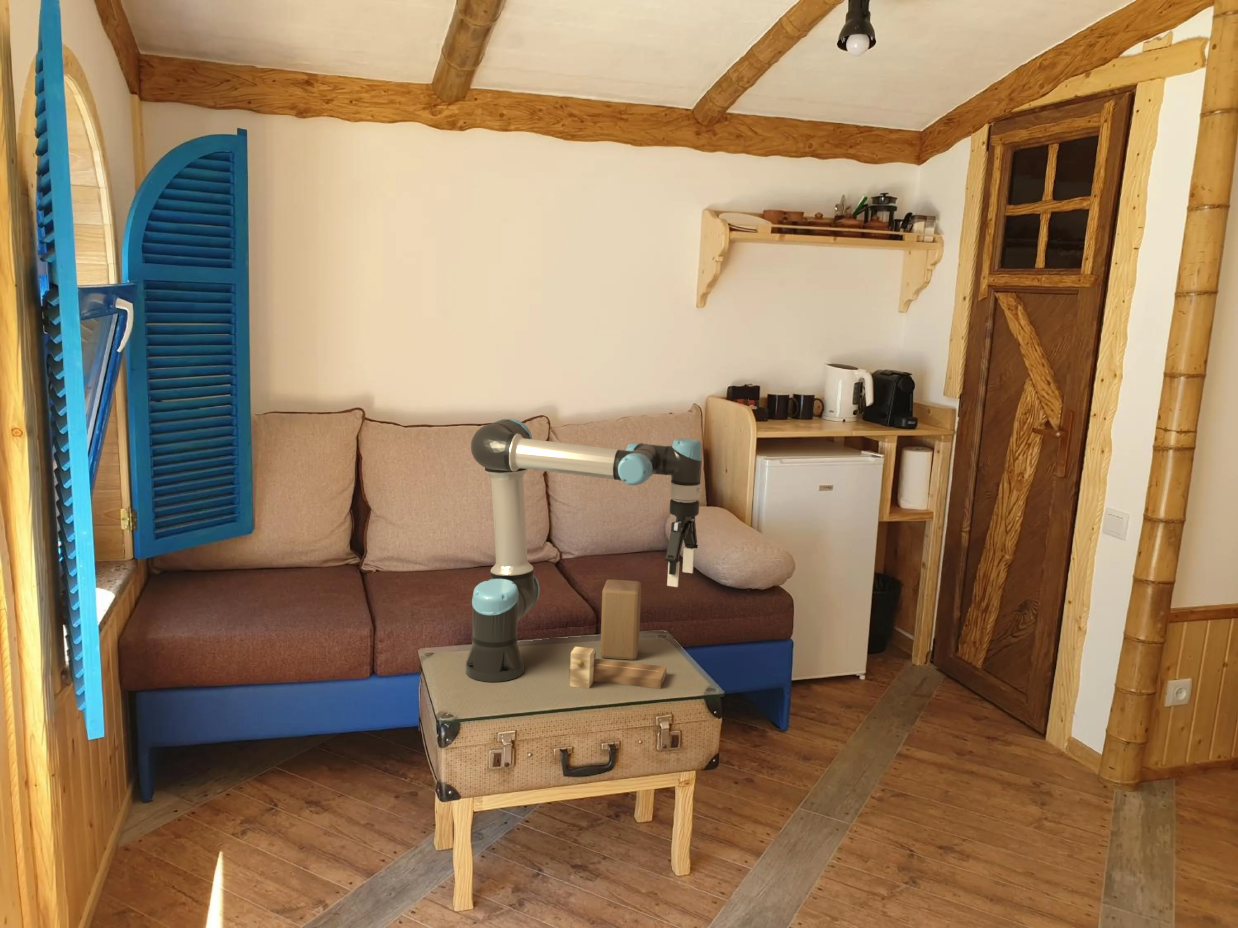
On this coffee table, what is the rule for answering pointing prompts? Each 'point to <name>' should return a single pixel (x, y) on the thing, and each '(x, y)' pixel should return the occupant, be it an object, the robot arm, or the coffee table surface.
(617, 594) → the wooden block
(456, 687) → the coffee table surface
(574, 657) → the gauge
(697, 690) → the coffee table surface
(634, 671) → the board
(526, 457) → the robot arm
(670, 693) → the coffee table surface
